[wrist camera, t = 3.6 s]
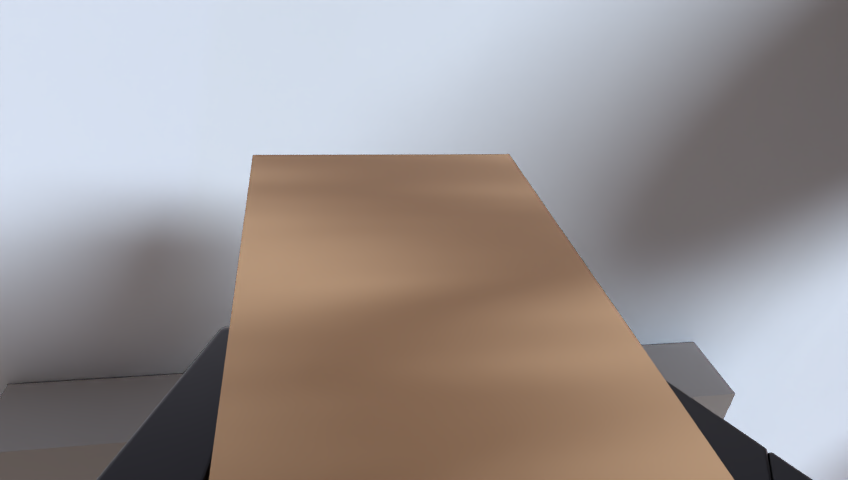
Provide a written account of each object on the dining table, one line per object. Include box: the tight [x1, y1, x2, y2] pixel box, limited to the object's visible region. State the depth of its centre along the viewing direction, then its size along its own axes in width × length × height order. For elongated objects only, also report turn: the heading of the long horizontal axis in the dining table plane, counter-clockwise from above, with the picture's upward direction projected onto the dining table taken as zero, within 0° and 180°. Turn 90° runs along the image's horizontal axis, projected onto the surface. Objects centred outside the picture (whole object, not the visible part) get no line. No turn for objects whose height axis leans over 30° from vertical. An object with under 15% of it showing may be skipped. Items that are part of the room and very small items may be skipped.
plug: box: [209, 154, 734, 480], centre depth 8 cm, size 4×4×7 cm
